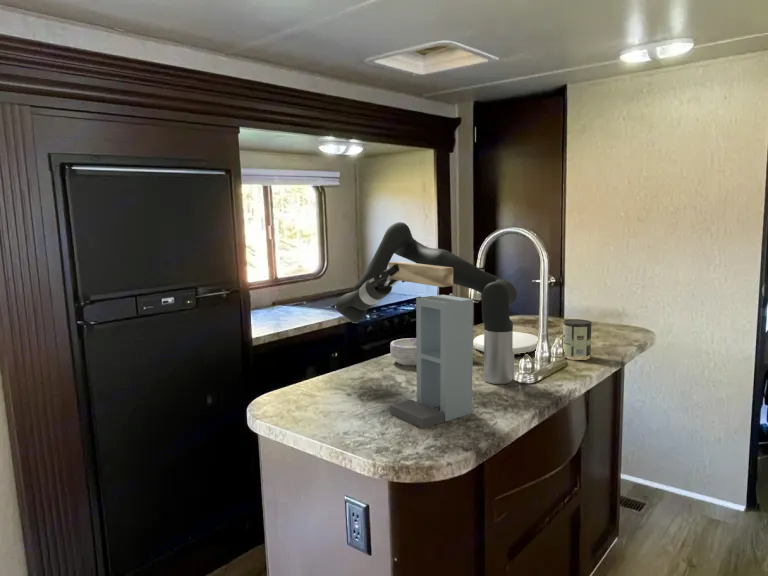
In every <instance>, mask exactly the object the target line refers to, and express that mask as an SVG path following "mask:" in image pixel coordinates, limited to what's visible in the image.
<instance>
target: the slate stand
mask: <svg viewBox="0 0 768 576" xmlns="http://www.w3.org/2000/svg"><path fill="white" fill-rule="evenodd" d="M415 299H416V300H415V303H416V306H415V307H416V309H415V310H416V311H415V312H416V315H415V316H416V318H415V319H416V320H415V321H416V326H415V327H416V328H415V329H416V332H415V334H416V337H415V338H416V350H417V365H416V402H419V403H421V404H424V405H426V406H429V407H431V408H433V409H436V408H438V407H439V408H440V409H439V411H441V412H443V413H444V422H449V421H451V420H454V419H457V418H462V417H465V416H468V415H471V414H473V370H474V369H473V364H474V363H473V357H474V355H473V354H474V352H473V351H474V345H473V340H474V339H473V338H474V334H473V333H474V331H473V330H474V299H473V298H466V297H461V296H455V295H454V296H449V295H448V294H447V295H446V294H438V295H437V294H436V295H429V296H422V297H416V298H415Z"/></svg>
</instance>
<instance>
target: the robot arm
mask: <svg viewBox="0 0 768 576" xmlns="http://www.w3.org/2000/svg"><path fill="white" fill-rule="evenodd" d="M394 254H395V255H397V256H398V257H402V258H404V259H405V260H406V259H407V260H408V261H410V262H412V263H417V264H426V265H434V266H443V267H452V268H453V285H457V286H460V287H462V288H463V287H464V288H467V289H470V290H473V291H476V292H478V293H479V294H481V317H482V318H481V320H482V323H483V328H484V329H483V330H484V331H483V334H484V352H483V382H486V383H487V384H488V383H489V384H492V385H493V384H494V385H495V384H496V385H505V384H510V383H512V382H511V381H513V380H512V379H514V380H515V355H514V352H513V351H512V347H513V332H514V329H513V328H514V323H513V321H512V320H511V319H510V306H512V305H513V304H514V303H515V302H516V301H517V299H518V292H517V289H516V287H515V285H513V284H512V283H511V282H510V281H508V280H506V279H504V278H501V277H498V276H497V275H494V274H491V273H489V272H487V271H484V270H483V269H481V268H479V267H477V266H475V264H472V263H471V262H469V261H467V260H465V259H463V258H462V257H460V256H458V255H457V254H454V253H453V252H451V251H449V250H446V249H443V248H434V247H433V248H432V247H428V246H427V245H424V244H422V243H420V242H419V241H418V240H416V239H415V238H414V237H413V234H412V231H411V229H410V227H409V225H407V224H406V223H405V222H399V221H398V222H394V223H391V225H390V226H388V228H387V229H386V230H385V233H384V234H383V236H382V239H381V241H380V244H379V245H378V247H377V249H376V251H375V253H374V255H373V256H372V259H371V261H370V262H369V264H368V266H367V267H366V269H365V270H364V272H363V273H362V275H361V276H360V278H358V280H357V282H356V284H355V285H354V287H353V290H354V291H352V292H348V293H345V294H343V295H342V296H340V297H339V298H338V299H337V301H336V303H335V304H336V305H335V309H336V311H337V312H338V313H339V314H341V315H342V316H343V317H344V318H346V319H347V320H348V321H350V322H351V323H352V324H359V323H360V322H362V321H363V320H364V318H365V316H366V315H367V311H368V309H369V308H371V307H372V306H373V305H375V304H377V303H378V302H380V301H382V300H383V299H384V298H385V297H386V296H388V295H389V294H390V293H391V292H392V289H393V286H394V285H396V284H397V283H398V282H401V283H405V282H406V281H400V280H393V279H390V278H391V277H392V275H394V274H396V273H397V272H398V271H399V267H398V264H395V265H393V266H392V267H391V268H390V269H389V266H388V262H391V260H392V257H393V256H394Z"/></svg>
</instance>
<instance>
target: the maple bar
mask: <svg viewBox="0 0 768 576" xmlns="http://www.w3.org/2000/svg"><path fill="white" fill-rule="evenodd" d="M395 264H398V267H399V271H398V272H397V273H396V274H394V275H392V277H391V278H390V279H393V280H400V281H399V282H402V281H405V282H407V283H413V284H420V285H427V286H432V287H433V286H434V287H439V288H446V287H454V284H453V268H452V267H443V266H434V265H426V264H417V263H415V262H409V261H390V262H388V269H390V268H391V267H392V266H393V265H395Z"/></svg>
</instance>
